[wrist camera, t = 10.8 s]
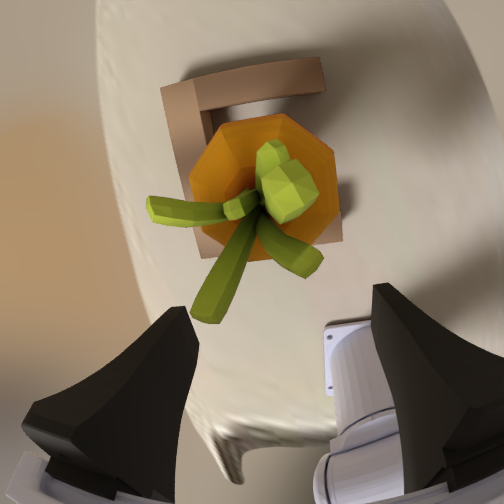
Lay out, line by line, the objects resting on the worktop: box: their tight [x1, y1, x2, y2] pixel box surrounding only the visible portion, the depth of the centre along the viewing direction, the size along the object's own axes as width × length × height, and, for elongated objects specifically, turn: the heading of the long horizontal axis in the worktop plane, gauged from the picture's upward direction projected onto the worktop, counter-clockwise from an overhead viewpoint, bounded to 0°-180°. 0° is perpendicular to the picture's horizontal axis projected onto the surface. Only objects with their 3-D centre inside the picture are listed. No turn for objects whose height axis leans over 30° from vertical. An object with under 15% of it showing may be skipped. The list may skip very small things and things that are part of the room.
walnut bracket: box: [160, 57, 343, 259], centre depth 18 cm, size 11×9×2 cm
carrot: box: [146, 113, 340, 324], centre depth 12 cm, size 5×5×15 cm
